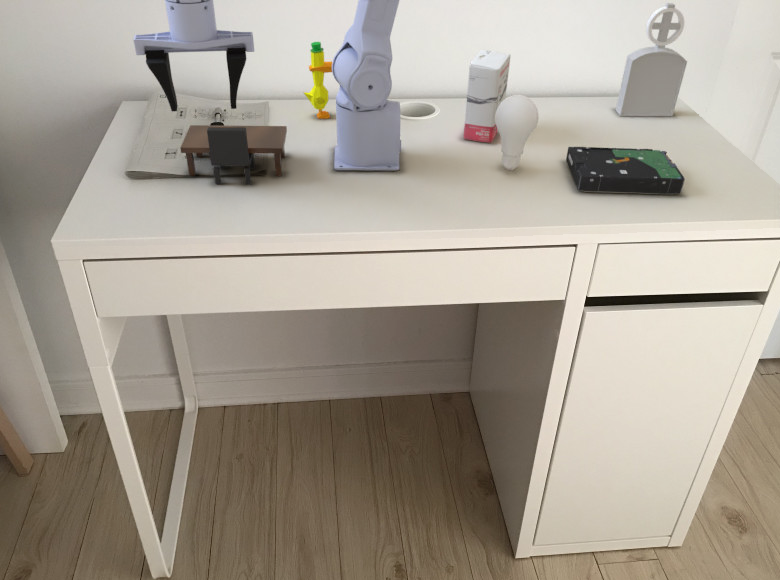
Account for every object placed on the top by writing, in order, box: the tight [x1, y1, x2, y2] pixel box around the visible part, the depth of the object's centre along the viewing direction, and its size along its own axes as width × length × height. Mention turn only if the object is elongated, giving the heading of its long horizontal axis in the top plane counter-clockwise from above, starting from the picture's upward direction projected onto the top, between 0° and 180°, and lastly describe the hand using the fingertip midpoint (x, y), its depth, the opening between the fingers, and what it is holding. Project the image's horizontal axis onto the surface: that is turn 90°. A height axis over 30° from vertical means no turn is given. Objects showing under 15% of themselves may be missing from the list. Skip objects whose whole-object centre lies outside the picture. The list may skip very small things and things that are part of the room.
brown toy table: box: [179, 124, 288, 177], centre depth 104 cm, size 14×8×4 cm, turn 93°
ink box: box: [463, 49, 511, 144], centre depth 114 cm, size 9×5×12 cm, turn 161°
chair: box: [207, 127, 256, 185], centre depth 100 cm, size 5×6×8 cm
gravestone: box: [615, 2, 688, 117], centre depth 121 cm, size 3×9×18 cm, turn 94°
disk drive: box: [565, 146, 686, 195], centre depth 105 cm, size 10×3×15 cm
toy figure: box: [303, 41, 333, 120], centre depth 117 cm, size 7×4×12 cm, turn 105°
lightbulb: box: [495, 94, 539, 171], centre depth 104 cm, size 6×6×11 cm
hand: (204, 107), depth 96 cm, fingers open, 7 cm apart
